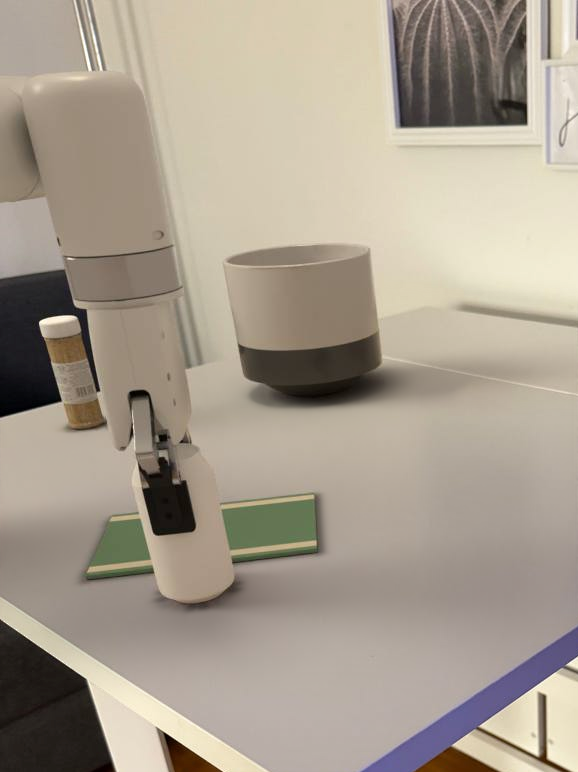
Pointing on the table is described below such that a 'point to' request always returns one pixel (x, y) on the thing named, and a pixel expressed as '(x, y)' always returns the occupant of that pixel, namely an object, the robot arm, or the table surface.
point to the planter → (305, 316)
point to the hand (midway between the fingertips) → (179, 513)
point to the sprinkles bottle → (72, 371)
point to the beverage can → (190, 536)
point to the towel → (243, 529)
